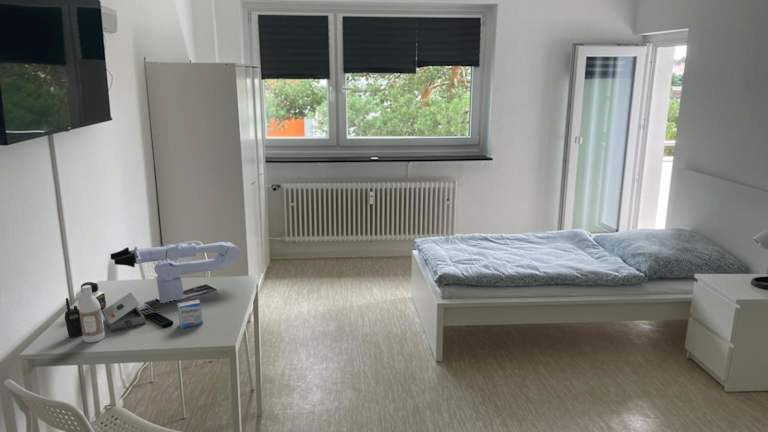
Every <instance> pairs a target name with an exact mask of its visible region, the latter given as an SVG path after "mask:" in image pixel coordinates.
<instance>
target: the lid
mask: <svg viewBox="0 0 768 432" xmlns="http://www.w3.org/2000/svg"><path fill="white" fill-rule="evenodd" d="M140 305H141V304H140V303H139V301H138V300H137V299H136V298H135V296H134V295H133V294H132V292H128V293H127V294H125V295H124V296H122V297H121V298H119V299H118V300H116V301H115V302H113V303H112V304H111V305H110V306H107V307H106V309H104V310H103V311H101V312H102V317H103V318H104V317H105V319H106V321H107V323H108V324H109V325H111V324H112V323H113V322H115V321H116V320H118V319H119V318H121V317H122V316H124V315H125V314H126V313H128V312H129V311H131V310H132V309H134V308H135V307H138V306H140ZM105 319H104V320H105Z"/></svg>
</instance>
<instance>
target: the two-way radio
mask: <svg viewBox="0 0 768 432" xmlns="http://www.w3.org/2000/svg"><path fill="white" fill-rule="evenodd" d="M65 304H66V311H65V313H64V323H65V324H66V331H67V335H68V337H69V338H71V339H72V338H76V337H80V336H83V332H82V326H81V320H80V314H79V308H78V305H73V308H72V307H71V305H70V301H69V298H68V297H66V298H65Z"/></svg>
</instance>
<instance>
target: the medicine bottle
mask: <svg viewBox="0 0 768 432" xmlns="http://www.w3.org/2000/svg"><path fill="white" fill-rule="evenodd" d="M86 285H90V286H91V289H92V295H93V296H94V297H95V298H96V299H97V300H98V302H99V303H100V306H101V312H102V311H103V310H105V309H106V308H107V301H106V296H105V292H104V291H99V290H100V289H99V285H98V282H97V281H86V282H83V283H82V284H81V285H80V290H81V295H79V296H78V297H77V304H78V305H77V306H79V305H80V302H81V300H82V298H83V292H82V287H83V286H86Z"/></svg>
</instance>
